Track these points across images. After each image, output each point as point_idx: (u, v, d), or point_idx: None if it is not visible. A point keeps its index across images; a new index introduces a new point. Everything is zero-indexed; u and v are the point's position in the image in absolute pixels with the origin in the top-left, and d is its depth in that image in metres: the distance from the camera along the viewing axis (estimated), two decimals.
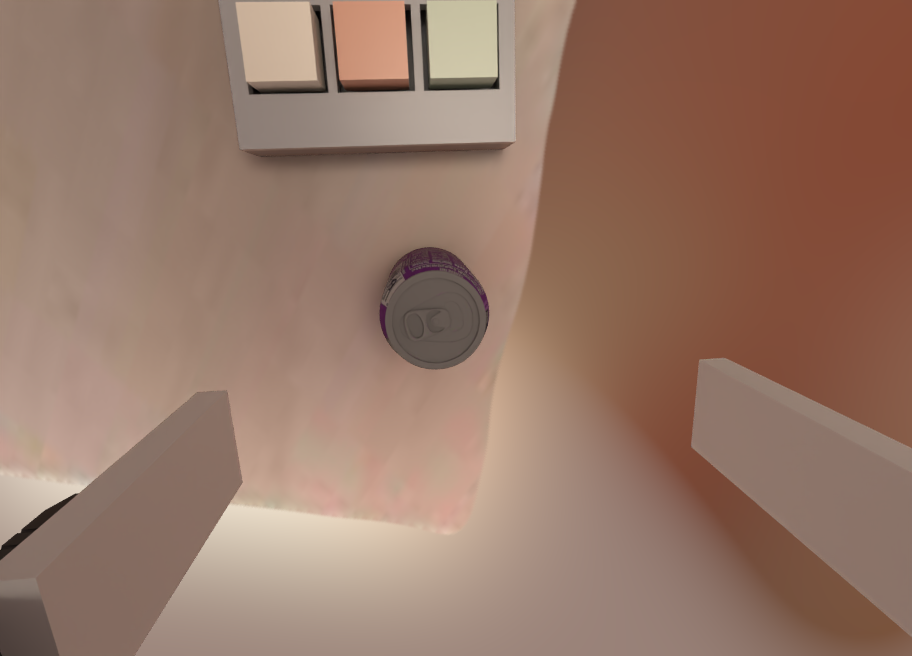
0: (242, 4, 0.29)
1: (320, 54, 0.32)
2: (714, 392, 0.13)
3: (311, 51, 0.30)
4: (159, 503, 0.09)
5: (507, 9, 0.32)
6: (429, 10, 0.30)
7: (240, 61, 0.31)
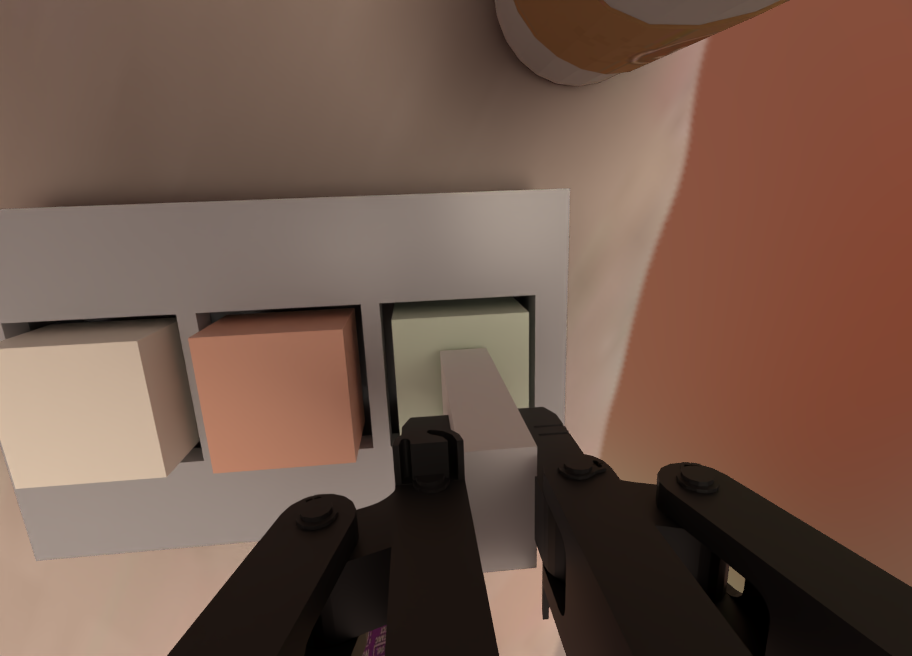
0: None
1: (187, 386, 0.16)
2: None
3: (149, 429, 0.14)
4: None
5: (553, 304, 0.16)
6: (396, 335, 0.15)
7: None
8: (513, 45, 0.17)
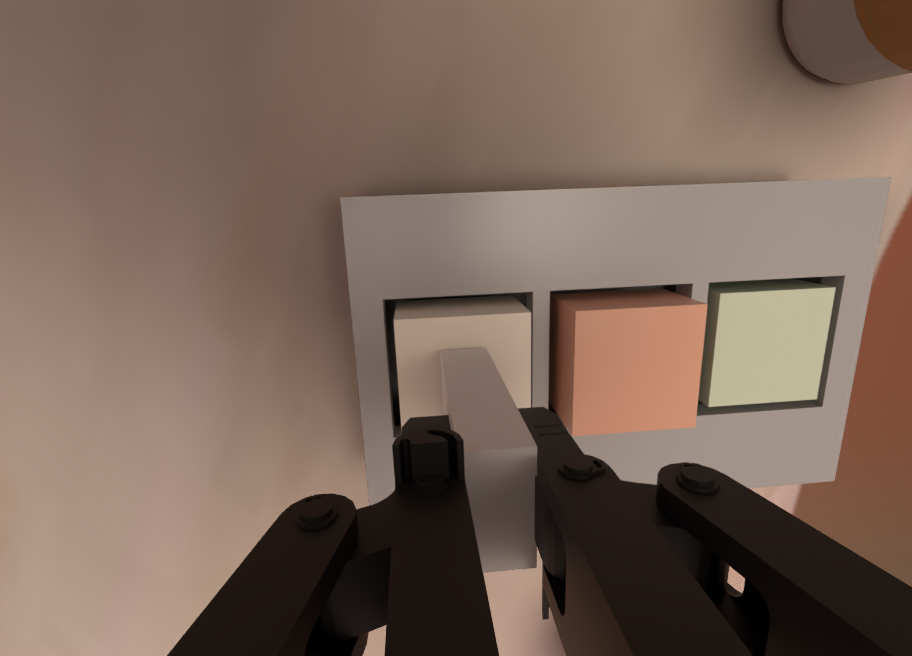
0: (406, 322, 0.15)
1: None
2: None
3: (525, 393, 0.16)
4: None
5: (859, 284, 0.18)
6: (722, 307, 0.17)
7: (382, 387, 0.17)
8: (804, 46, 0.19)
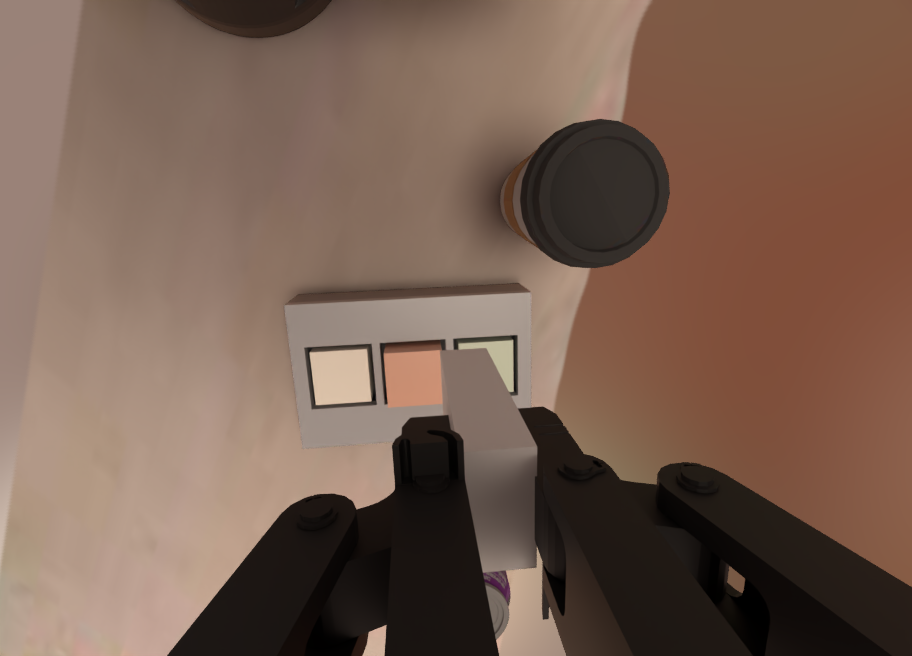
0: (314, 353, 0.37)
1: (371, 367, 0.40)
2: None
3: (367, 382, 0.38)
4: None
5: (525, 338, 0.38)
6: None
7: (305, 386, 0.38)
8: (508, 224, 0.39)
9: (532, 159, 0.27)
